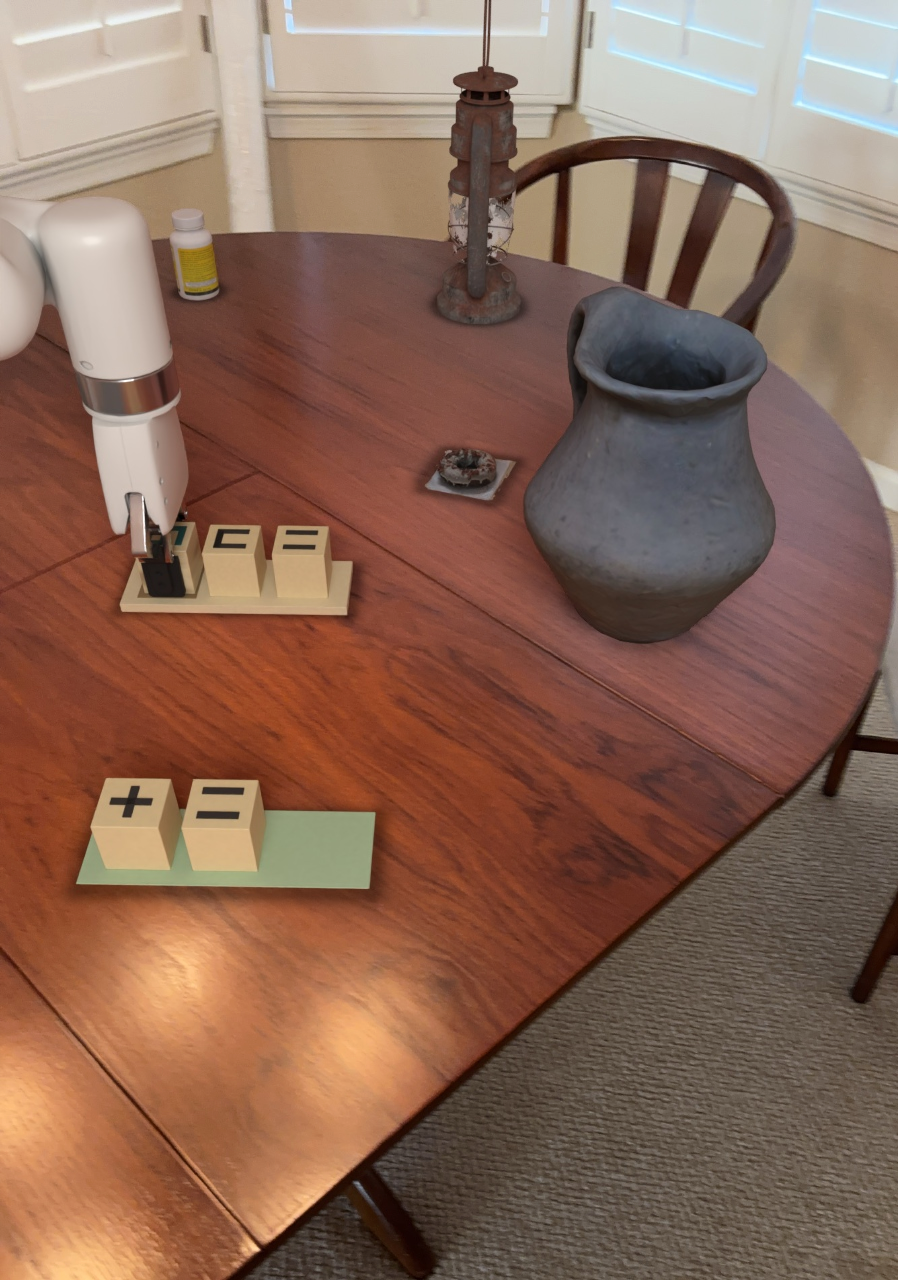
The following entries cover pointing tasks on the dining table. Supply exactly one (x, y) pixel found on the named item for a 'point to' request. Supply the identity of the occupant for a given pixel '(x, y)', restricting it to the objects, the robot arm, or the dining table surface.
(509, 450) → the dining table surface
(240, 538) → the mat
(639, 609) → the pitcher
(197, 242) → the supplement bottle
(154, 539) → the cream block
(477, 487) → the donut
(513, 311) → the lantern
